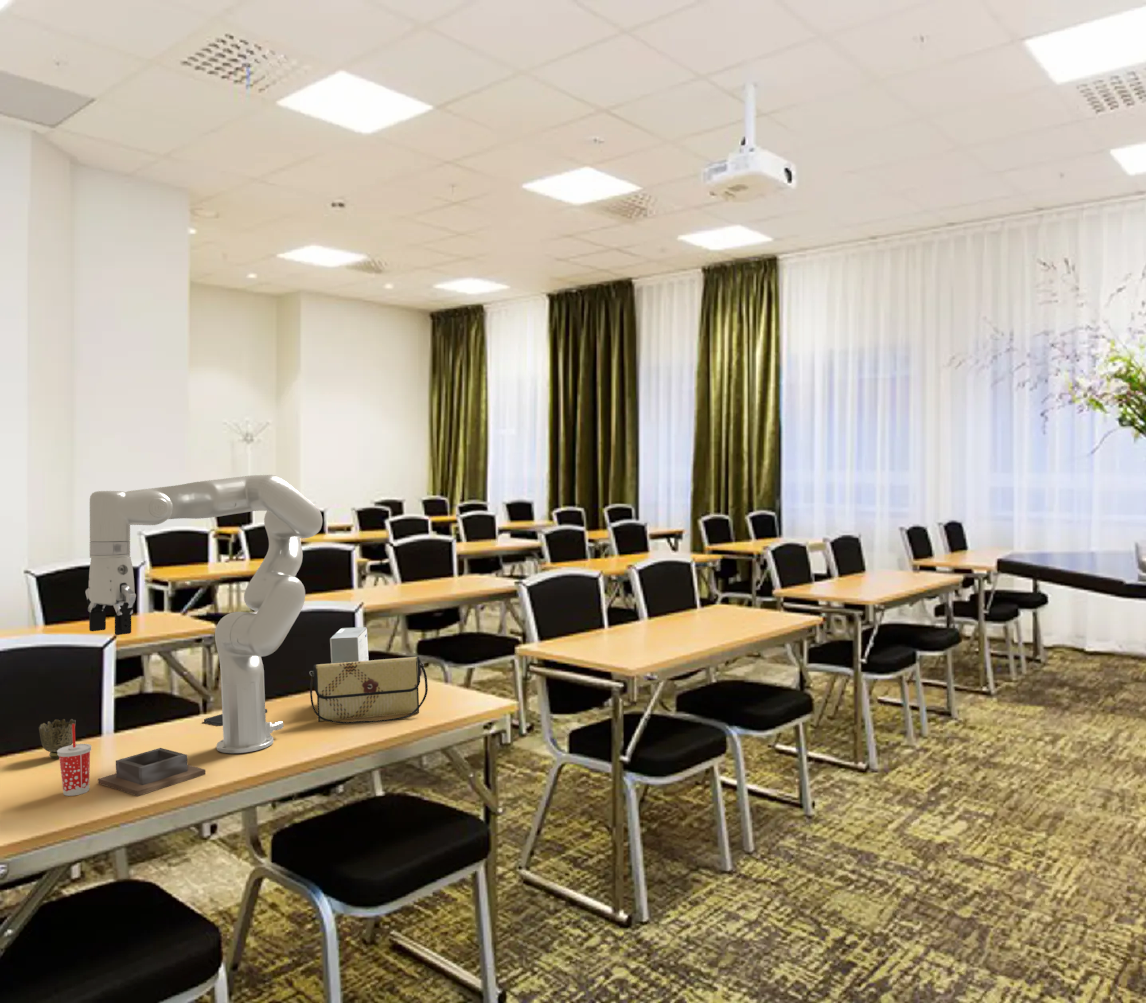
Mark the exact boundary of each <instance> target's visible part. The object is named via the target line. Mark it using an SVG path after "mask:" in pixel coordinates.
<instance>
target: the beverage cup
mask: <svg viewBox="0 0 1146 1003" xmlns="http://www.w3.org/2000/svg"><path fill="white" fill-rule="evenodd" d="M72 736H73V744H72V745H70V746H66V747H62V748H60V749H58V750H57V753H58V756H59V758H58V759H59V760H58V761H59V766H60V776H61V783H62V792H63V795H64V796H70V797H71V796H73V797H74V796H78V795H83V794H86V793H88V792H89V791H90V779H91V778H90V777H91V776H90V774H91V773H90V772H91V770H90V769H91V768H90V766H91V751H92V745H91V744H89V743H77V744H76V723H75V724H72Z"/></svg>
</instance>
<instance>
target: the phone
mask: <svg viewBox="0 0 1146 1003" xmlns="http://www.w3.org/2000/svg"><path fill="white" fill-rule="evenodd" d="M267 713H268V709H267V708H265V714H267ZM203 723H204V724H208V725H212V726H219V727H223V716H222V713H221V714H217V715H214V716H209V717H206V718H204V719H203Z"/></svg>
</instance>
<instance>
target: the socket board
mask: <svg viewBox="0 0 1146 1003" xmlns="http://www.w3.org/2000/svg"><path fill="white" fill-rule="evenodd" d="M205 775H206V769H205V768H202V767H197V766H193V765H189V764H188V754H186V753H183V752H178V751H174V750H170V749H166V748H162V747H159V748H155V749H151V750H148V751H145V752H141V753H138V754H133V755H131V756H127V757H123V758H120V759H117V760H115V773H113V774H109V775H106V776H102V777H99V778H98V780H97V781H98V784H99V785H102V786H105V787H108V788H112V789H115V790H118V791H120V792H124V793H127V794H130V795H132V796H133V795H134V796H135V797H139V796H143V795H145V794H148V793H151V792H155V791H159V790H161V789H163V788H167V787H171V786H174V785H176V784H180V783H182V782H185V781H189V780H191V779H195V778H198V777H201V776H205Z"/></svg>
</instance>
